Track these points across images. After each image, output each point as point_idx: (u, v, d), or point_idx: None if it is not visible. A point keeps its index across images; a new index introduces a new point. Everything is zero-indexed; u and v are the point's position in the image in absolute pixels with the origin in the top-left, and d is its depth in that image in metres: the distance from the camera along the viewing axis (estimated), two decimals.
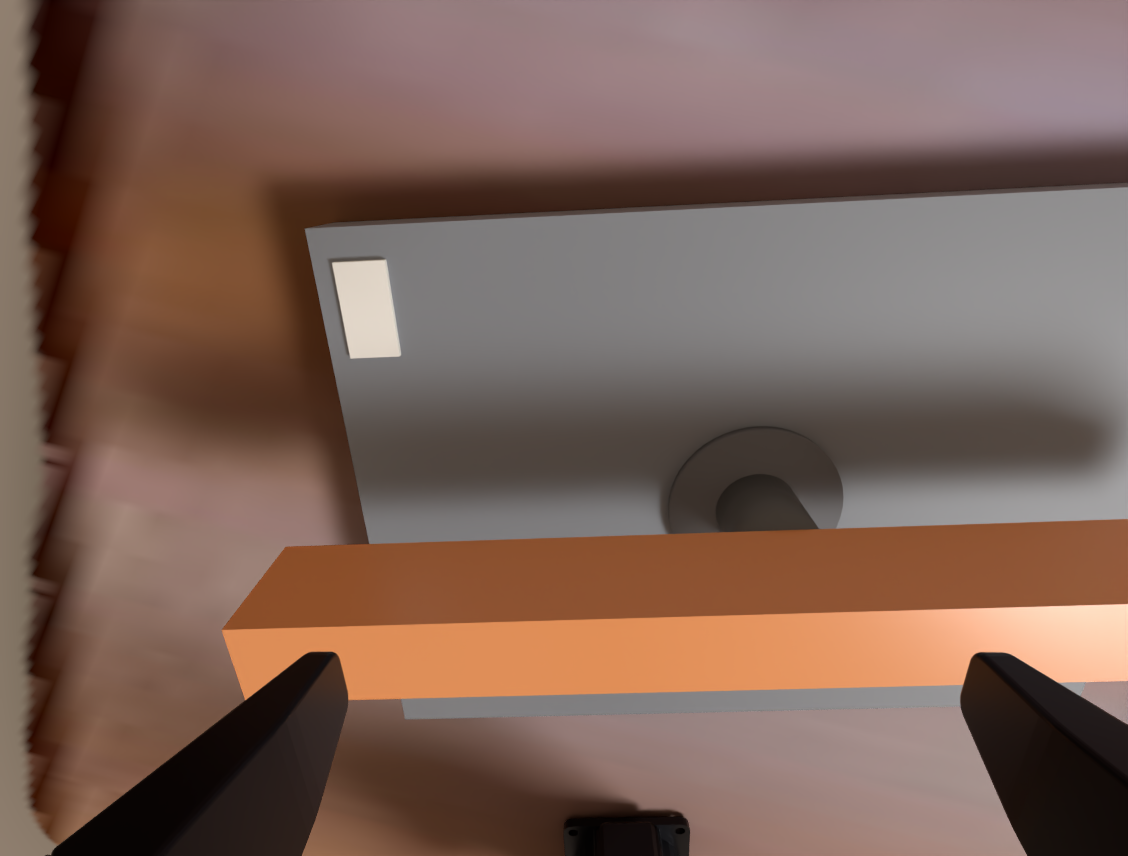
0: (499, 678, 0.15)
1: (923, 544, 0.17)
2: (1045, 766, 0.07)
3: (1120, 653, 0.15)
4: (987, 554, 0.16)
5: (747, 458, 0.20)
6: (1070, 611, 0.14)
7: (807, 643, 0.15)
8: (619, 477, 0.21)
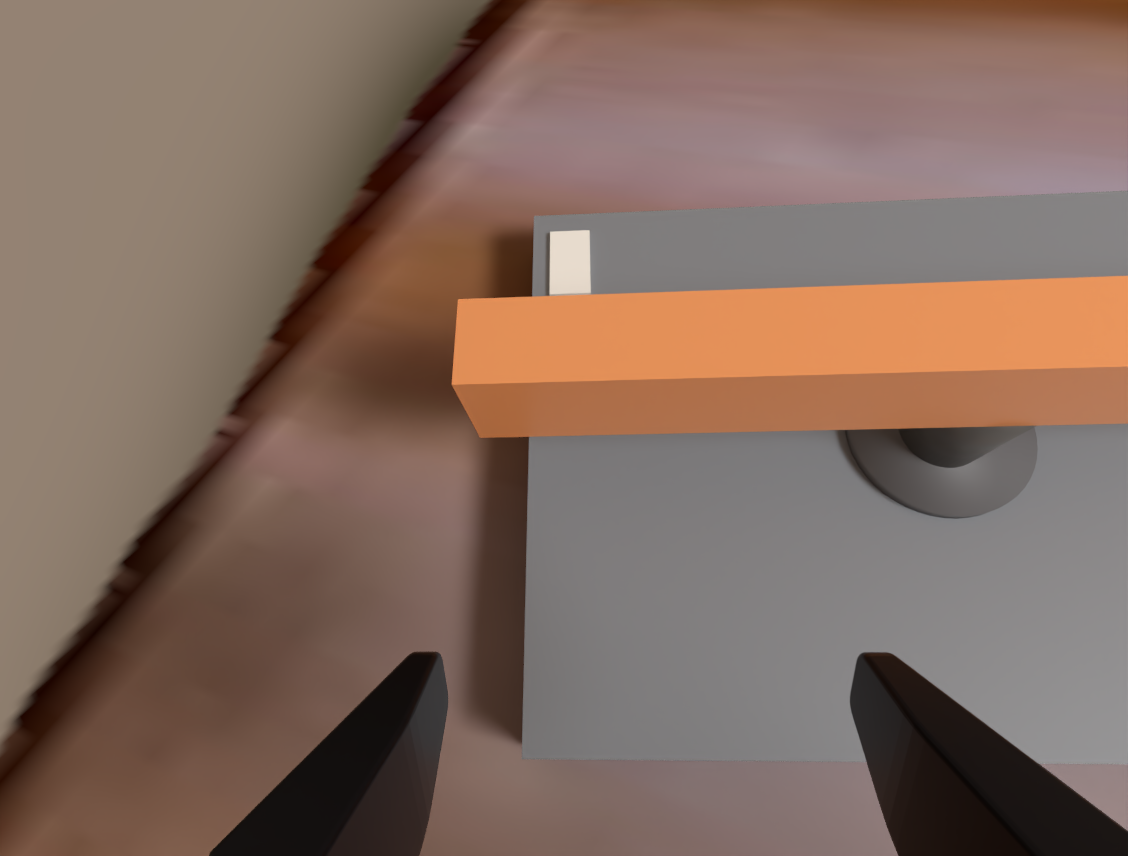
0: (733, 354, 0.14)
1: None
2: (909, 765, 0.07)
3: None
4: None
5: None
6: None
7: (1060, 311, 0.14)
8: None
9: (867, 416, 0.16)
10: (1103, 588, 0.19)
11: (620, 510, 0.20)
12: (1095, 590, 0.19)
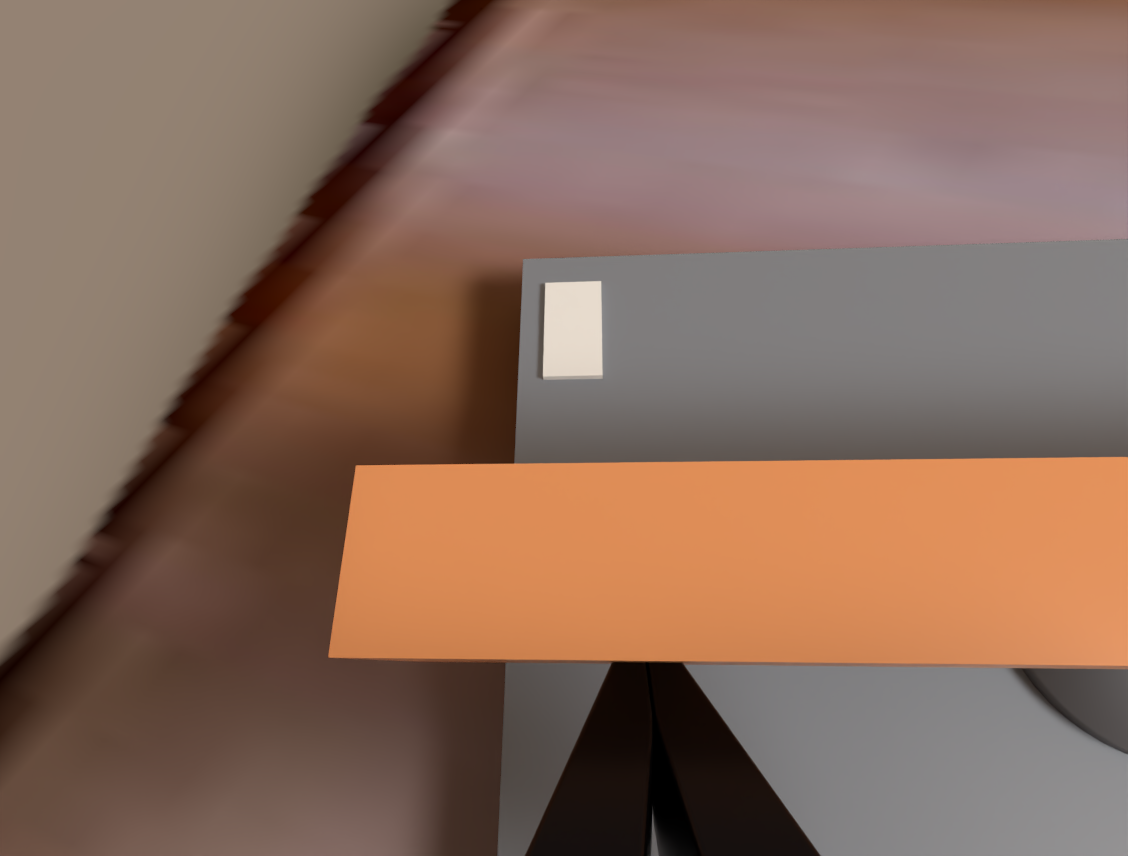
0: (902, 607, 0.07)
1: None
2: (657, 762, 0.07)
3: None
4: None
5: None
6: None
7: None
8: None
9: (1110, 668, 0.09)
10: None
11: None
12: None
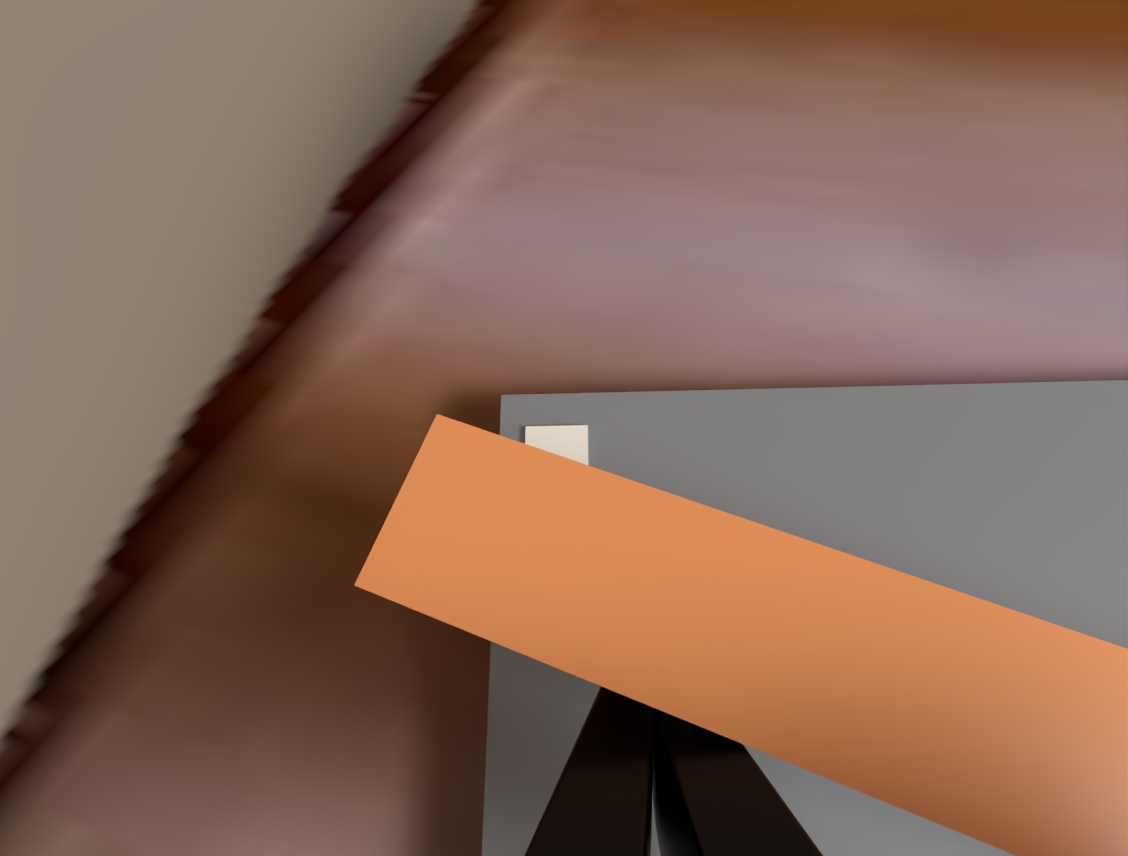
0: (937, 757, 0.06)
1: None
2: (658, 762, 0.07)
3: None
4: None
5: None
6: None
7: None
8: None
9: None
10: None
11: None
12: None
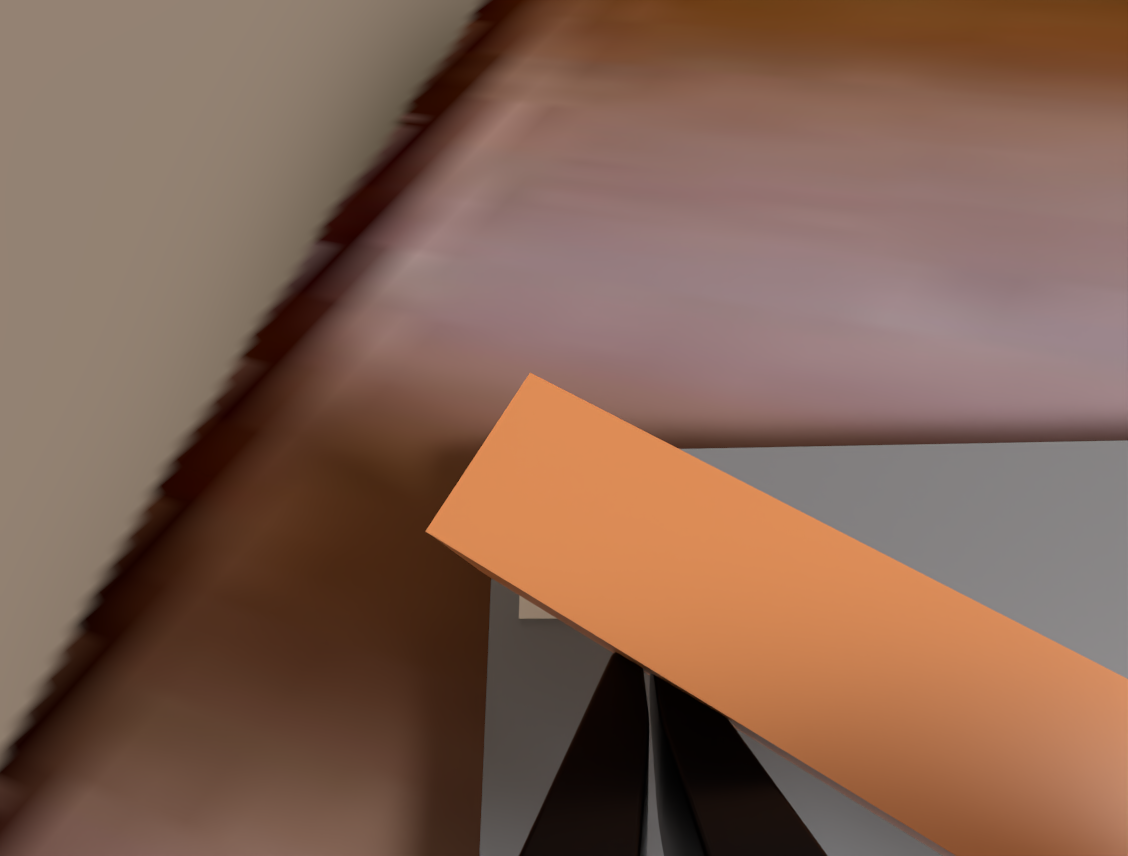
0: (1020, 819, 0.06)
1: None
2: (662, 761, 0.07)
3: None
4: None
5: None
6: None
7: None
8: None
9: None
10: None
11: None
12: None
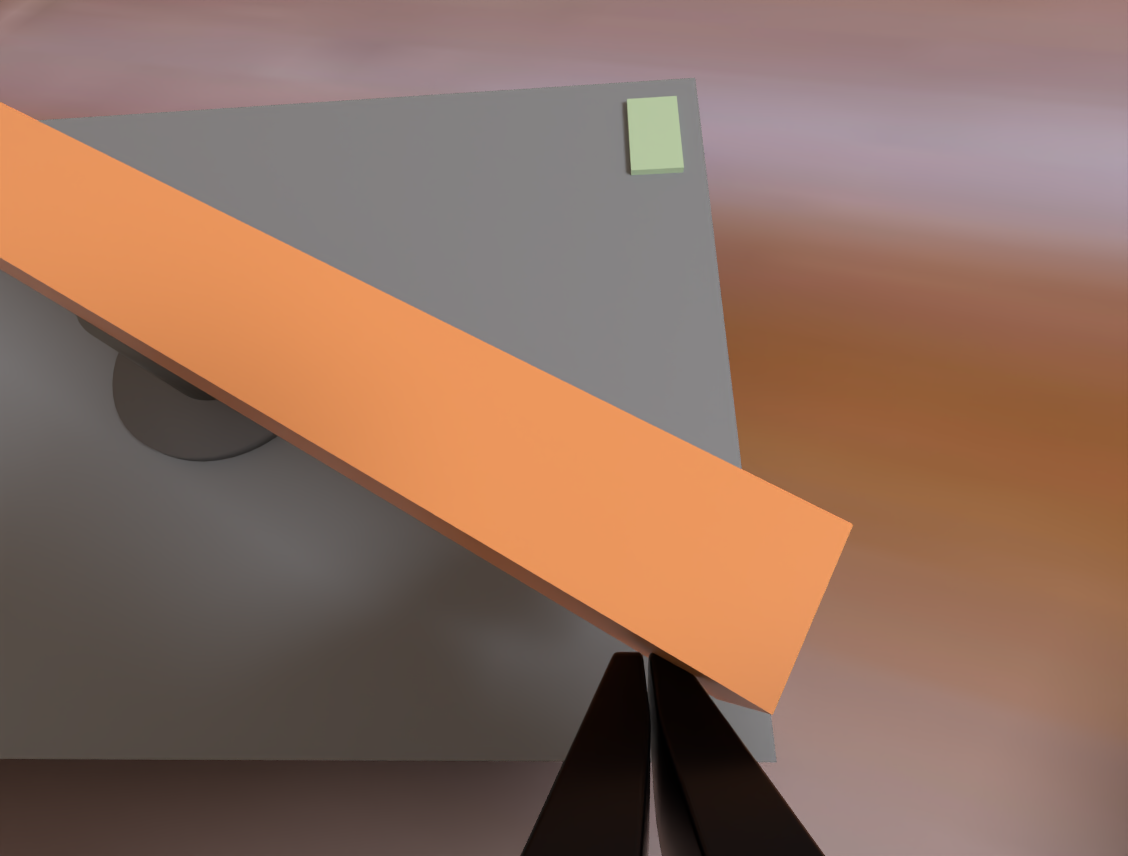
0: None
1: None
2: (659, 762, 0.07)
3: (273, 343, 0.09)
4: None
5: None
6: (253, 238, 0.10)
7: None
8: (82, 329, 0.18)
9: None
10: (334, 542, 0.15)
11: None
12: (324, 545, 0.15)
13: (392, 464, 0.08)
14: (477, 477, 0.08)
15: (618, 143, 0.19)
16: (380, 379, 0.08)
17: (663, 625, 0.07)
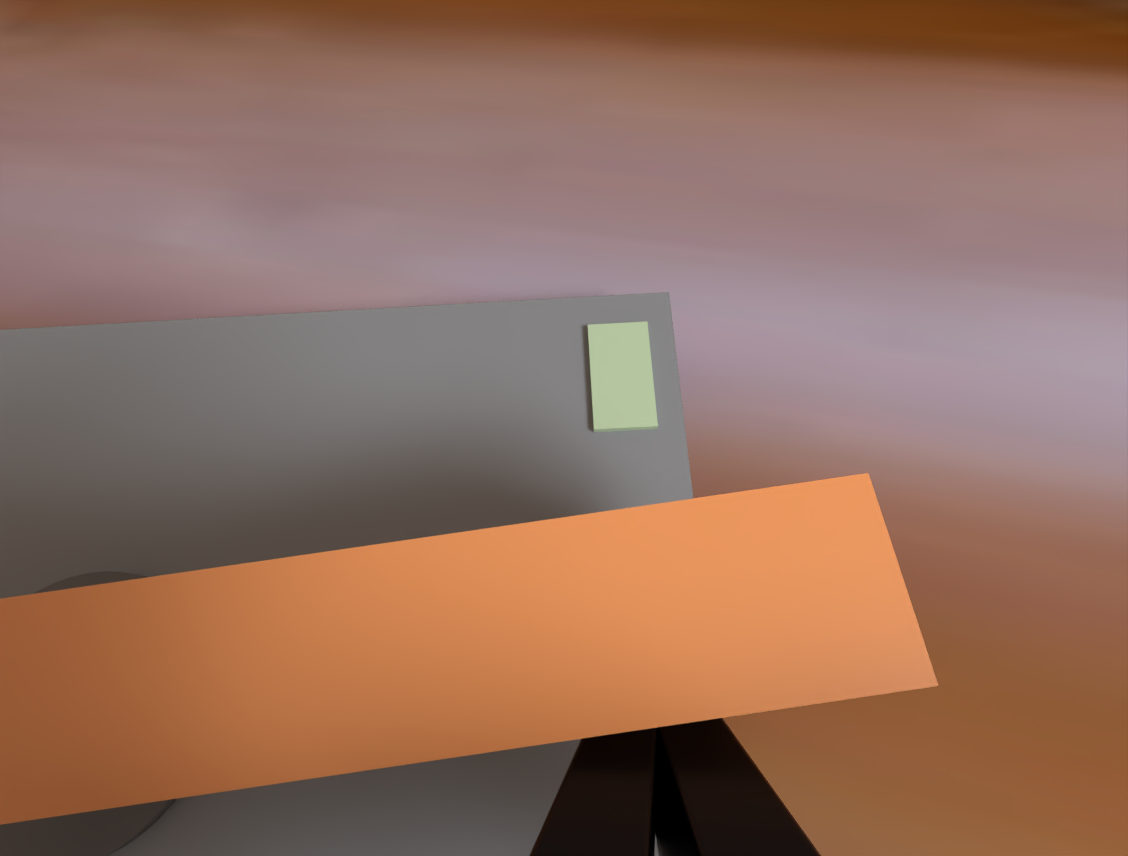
0: None
1: None
2: (656, 762, 0.07)
3: (200, 702, 0.07)
4: None
5: None
6: (79, 601, 0.07)
7: None
8: None
9: None
10: None
11: None
12: None
13: (438, 730, 0.07)
14: (533, 676, 0.07)
15: (578, 385, 0.16)
16: (356, 652, 0.07)
17: (800, 681, 0.07)
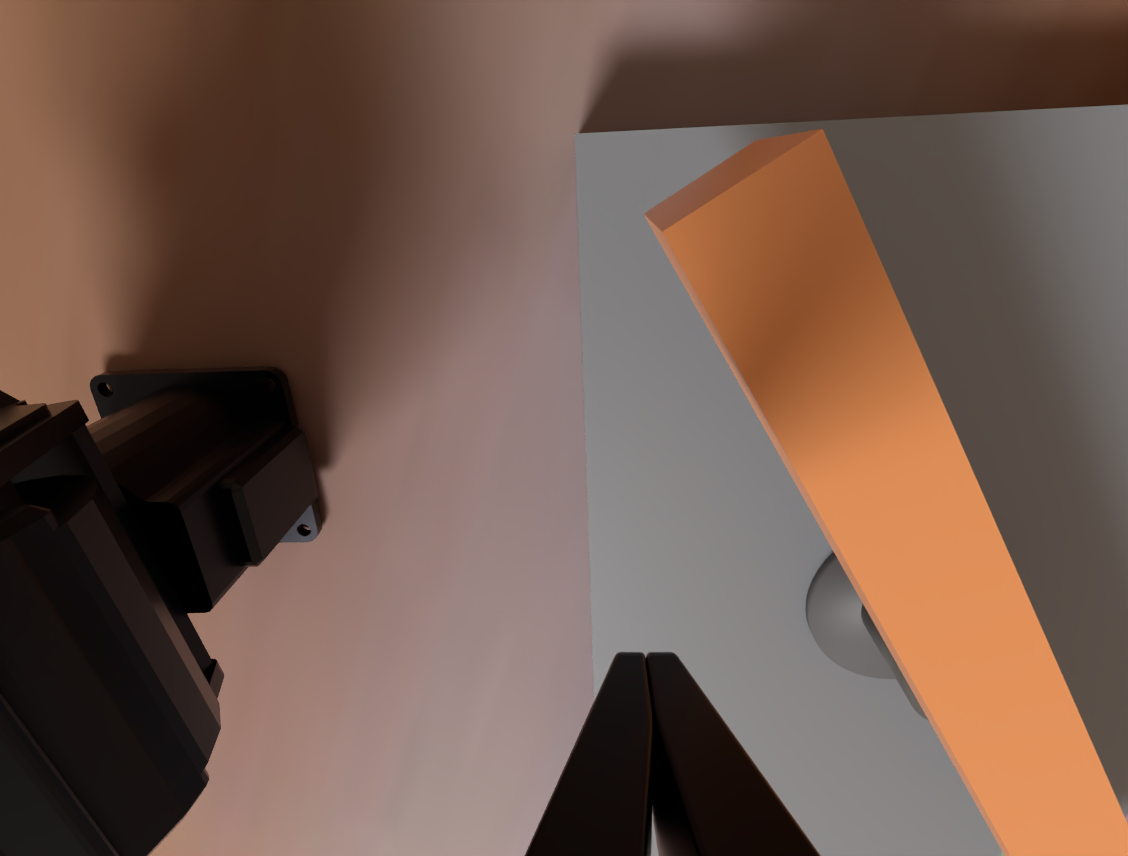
0: (883, 553, 0.10)
1: None
2: (656, 761, 0.07)
3: None
4: None
5: None
6: None
7: (1062, 798, 0.13)
8: (974, 467, 0.18)
9: (874, 620, 0.14)
10: (729, 688, 0.21)
11: None
12: (727, 682, 0.21)
13: None
14: None
15: None
16: None
17: None
